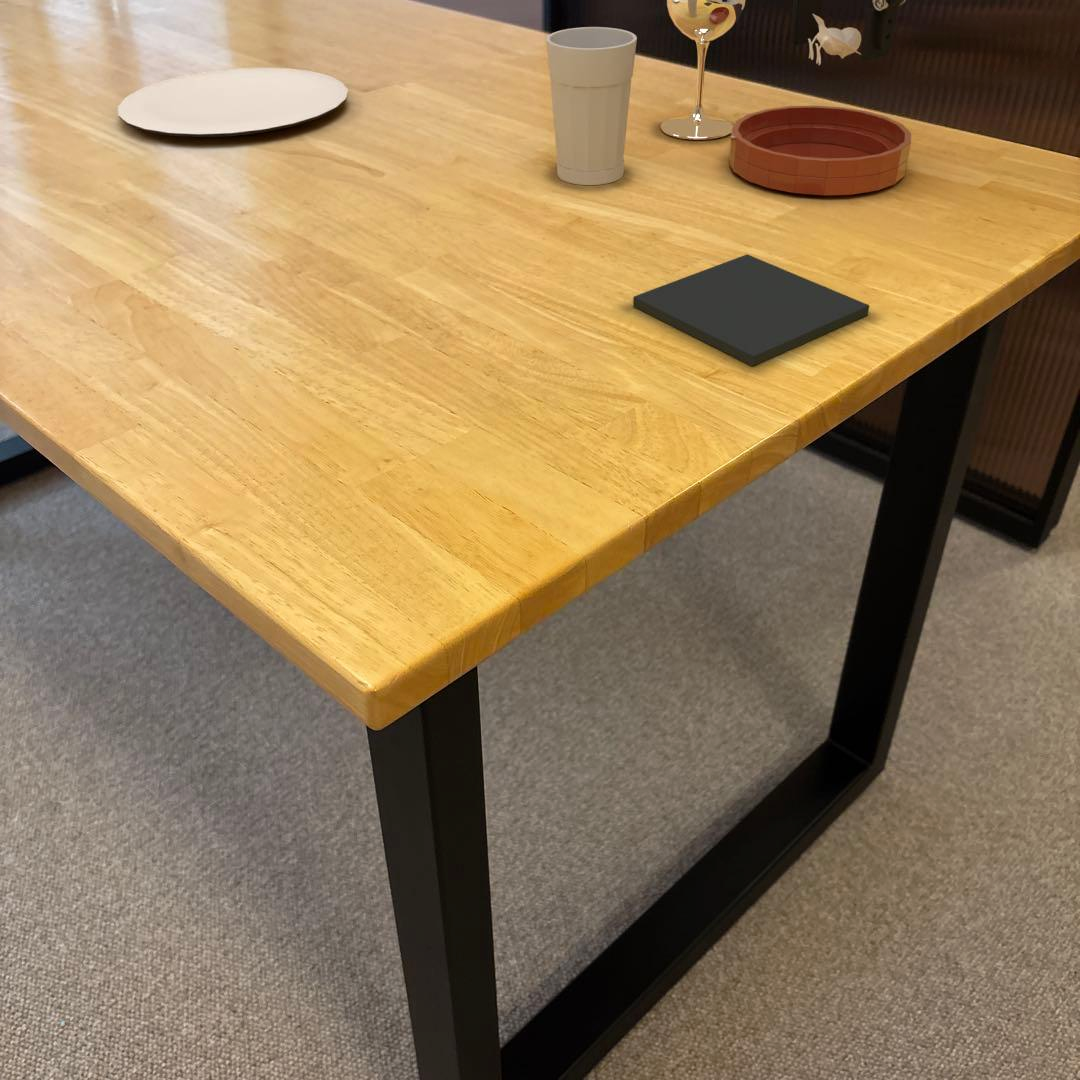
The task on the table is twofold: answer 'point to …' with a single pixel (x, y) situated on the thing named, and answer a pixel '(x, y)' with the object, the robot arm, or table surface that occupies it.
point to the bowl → (819, 150)
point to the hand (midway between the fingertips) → (838, 48)
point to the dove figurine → (835, 40)
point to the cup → (590, 101)
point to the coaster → (750, 308)
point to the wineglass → (701, 60)
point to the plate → (232, 102)
